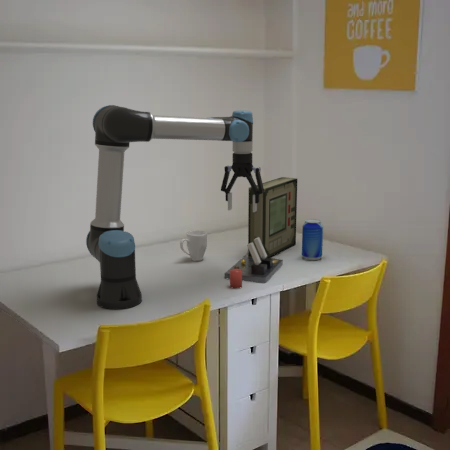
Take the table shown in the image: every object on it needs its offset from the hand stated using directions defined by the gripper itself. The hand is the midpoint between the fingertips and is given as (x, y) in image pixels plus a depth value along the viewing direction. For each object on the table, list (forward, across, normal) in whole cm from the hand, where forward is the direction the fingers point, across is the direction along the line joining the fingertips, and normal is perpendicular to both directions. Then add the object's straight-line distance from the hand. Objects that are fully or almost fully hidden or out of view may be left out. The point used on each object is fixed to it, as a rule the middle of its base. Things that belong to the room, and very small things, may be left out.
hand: (242, 210), depth 242 cm
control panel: (+24, -5, -28) cm, 37 cm away
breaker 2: (+19, -10, 0) cm, 21 cm away
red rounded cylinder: (+24, -4, +20) cm, 31 cm away
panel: (+24, -6, +1) cm, 24 cm away
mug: (+24, +22, -4) cm, 33 cm away
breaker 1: (+19, -10, +8) cm, 22 cm away
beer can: (+24, -22, -24) cm, 41 cm away
